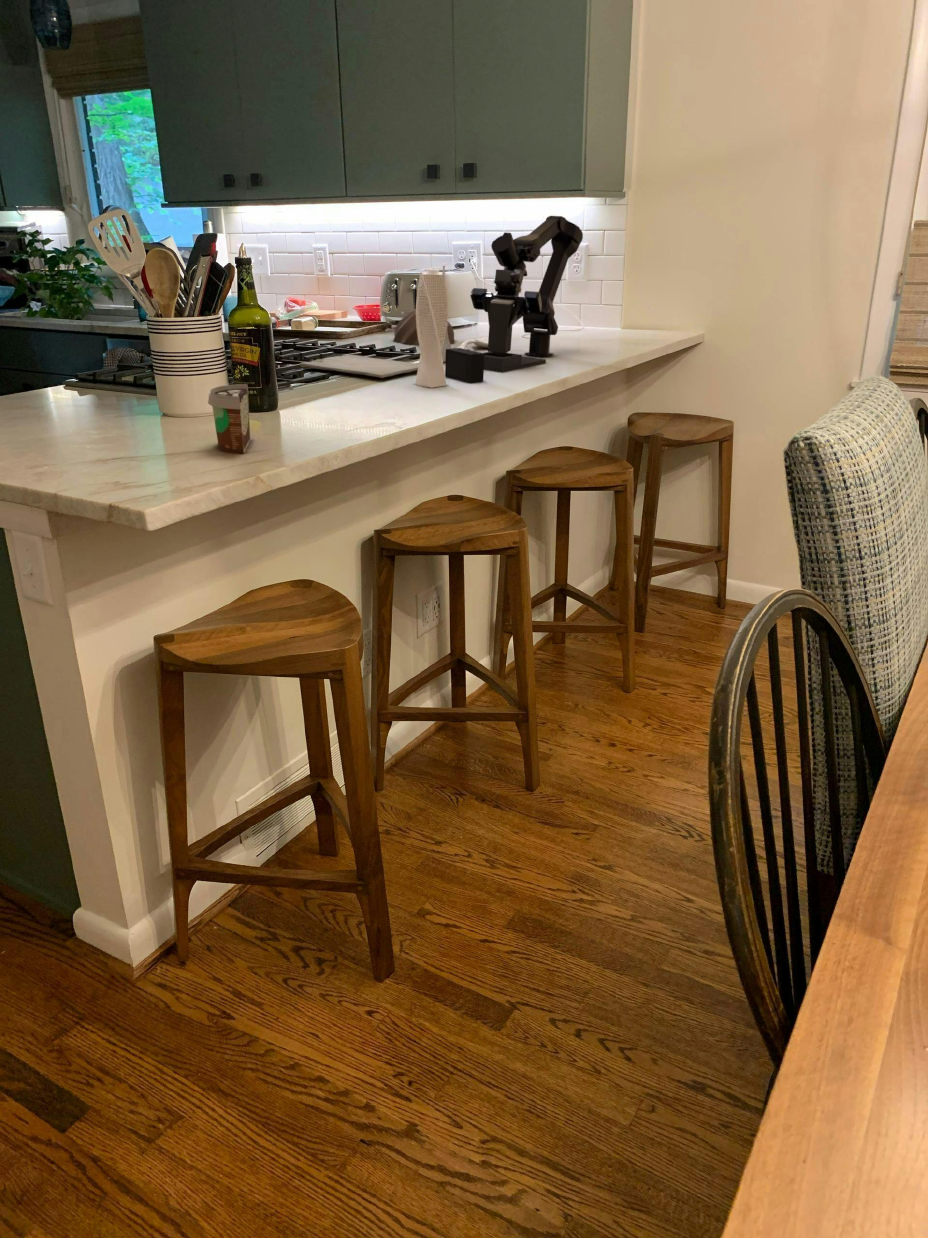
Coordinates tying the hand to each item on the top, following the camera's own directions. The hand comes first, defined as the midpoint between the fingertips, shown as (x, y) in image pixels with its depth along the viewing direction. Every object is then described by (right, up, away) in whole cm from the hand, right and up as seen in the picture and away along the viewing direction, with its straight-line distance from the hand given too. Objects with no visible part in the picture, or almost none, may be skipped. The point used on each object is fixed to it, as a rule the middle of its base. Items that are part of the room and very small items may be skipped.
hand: (499, 325), depth 247 cm
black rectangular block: (-9, -17, -11) cm, 22 cm away
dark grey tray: (+1, -7, +12) cm, 14 cm away
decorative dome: (-22, +10, +48) cm, 54 cm away
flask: (-15, -5, +15) cm, 22 cm away
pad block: (0, -5, +4) cm, 7 cm away
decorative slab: (-35, -13, -4) cm, 38 cm away
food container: (-51, -47, -80) cm, 106 cm away
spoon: (-7, +2, +32) cm, 33 cm away
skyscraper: (-17, -21, -20) cm, 34 cm away
